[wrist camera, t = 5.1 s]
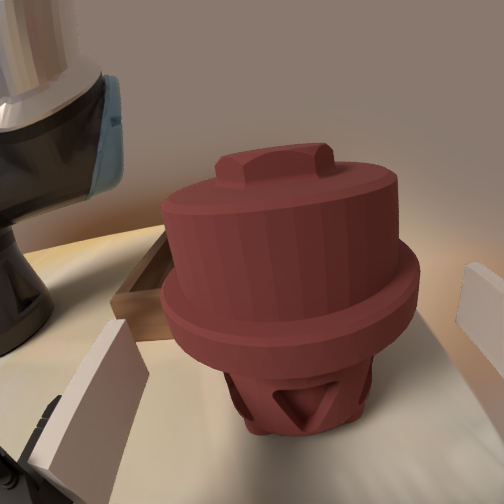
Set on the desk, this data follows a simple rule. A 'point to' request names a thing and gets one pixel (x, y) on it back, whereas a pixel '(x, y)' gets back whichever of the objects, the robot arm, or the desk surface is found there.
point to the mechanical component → (289, 282)
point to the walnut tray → (146, 294)
